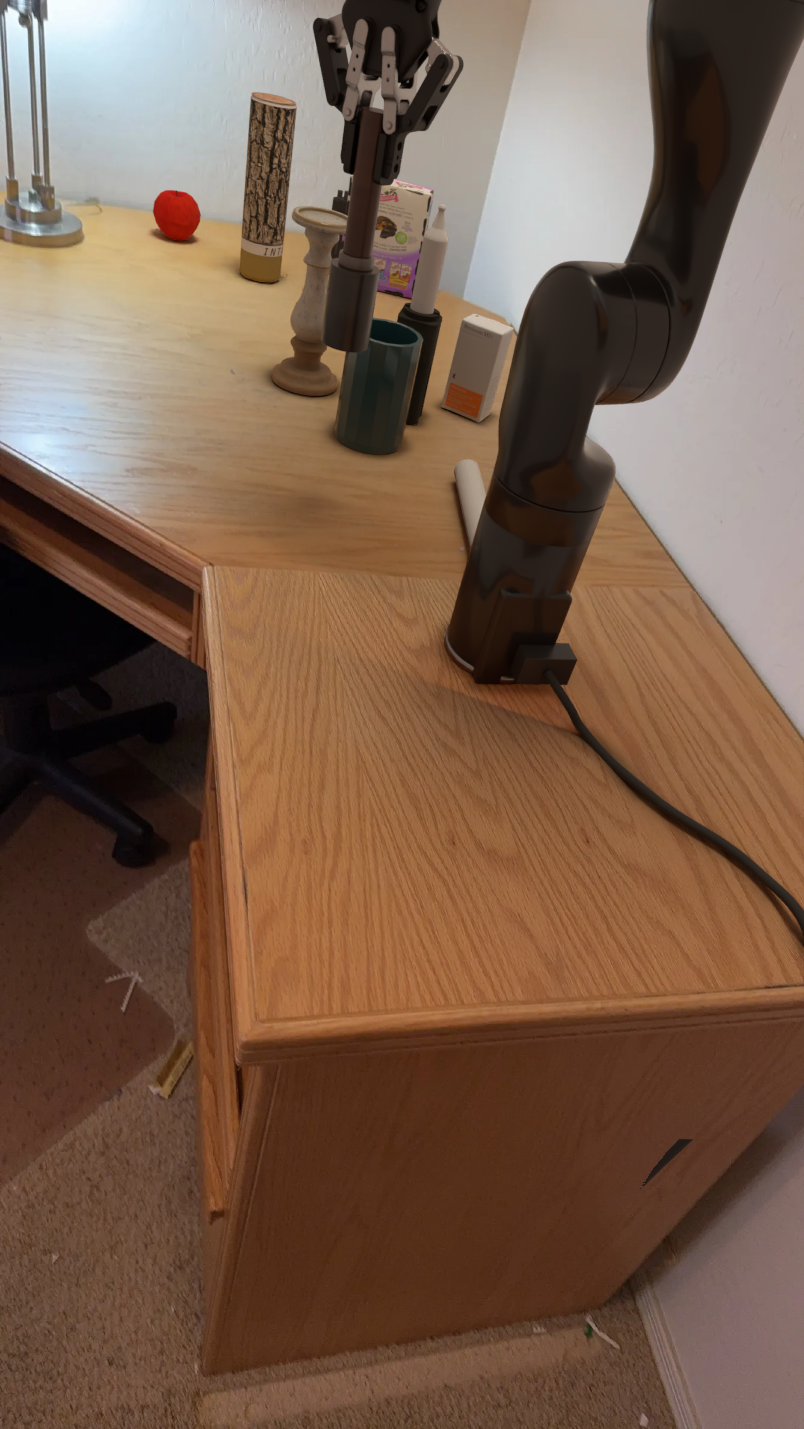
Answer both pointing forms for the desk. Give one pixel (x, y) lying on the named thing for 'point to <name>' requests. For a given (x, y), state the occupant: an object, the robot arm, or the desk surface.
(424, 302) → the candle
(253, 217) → the paper tube
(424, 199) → the candy box
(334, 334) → the brush
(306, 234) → the candle holder
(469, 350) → the cosmetic box
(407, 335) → the teal pencil cup
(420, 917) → the desk surface
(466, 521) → the tube
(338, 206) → the walkie-talkie
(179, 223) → the apple
